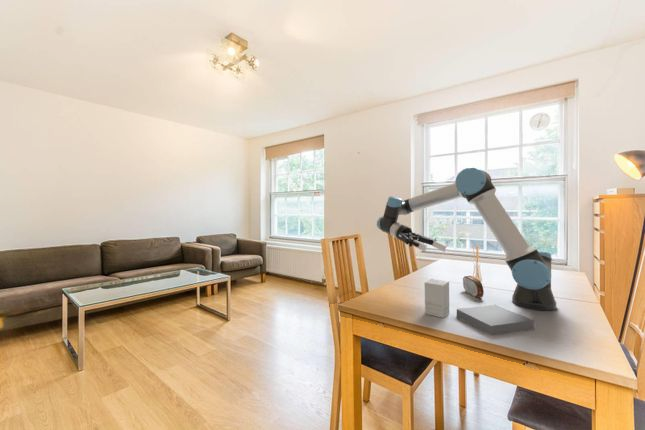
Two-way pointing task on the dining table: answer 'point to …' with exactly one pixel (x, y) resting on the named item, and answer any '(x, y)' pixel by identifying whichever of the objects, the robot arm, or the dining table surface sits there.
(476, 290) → the tin
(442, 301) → the supplement box
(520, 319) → the gray board
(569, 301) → the dining table surface
